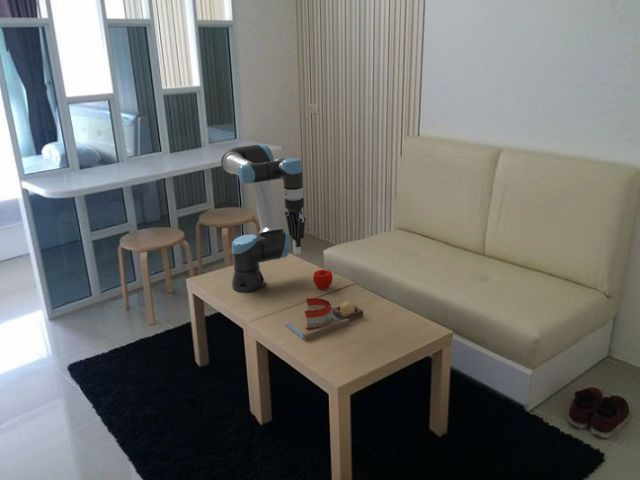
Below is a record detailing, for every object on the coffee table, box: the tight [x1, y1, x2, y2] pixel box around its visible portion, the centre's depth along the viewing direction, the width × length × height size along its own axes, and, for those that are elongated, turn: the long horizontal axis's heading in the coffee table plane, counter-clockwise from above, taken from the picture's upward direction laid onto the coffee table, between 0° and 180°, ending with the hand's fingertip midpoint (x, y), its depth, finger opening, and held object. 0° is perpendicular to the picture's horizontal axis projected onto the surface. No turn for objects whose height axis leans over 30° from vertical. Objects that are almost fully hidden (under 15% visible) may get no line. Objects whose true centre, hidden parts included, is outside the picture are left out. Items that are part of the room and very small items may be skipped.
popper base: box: [331, 305, 364, 323], centre depth 233 cm, size 9×9×3 cm
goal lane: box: [284, 311, 350, 342], centre depth 227 cm, size 16×20×2 cm
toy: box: [304, 297, 333, 331], centre depth 228 cm, size 12×10×8 cm
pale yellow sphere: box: [339, 300, 355, 315], centre depth 232 cm, size 6×6×6 cm
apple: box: [312, 269, 333, 291], centre depth 258 cm, size 9×9×8 cm
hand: (297, 253), depth 235 cm, fingers closed
